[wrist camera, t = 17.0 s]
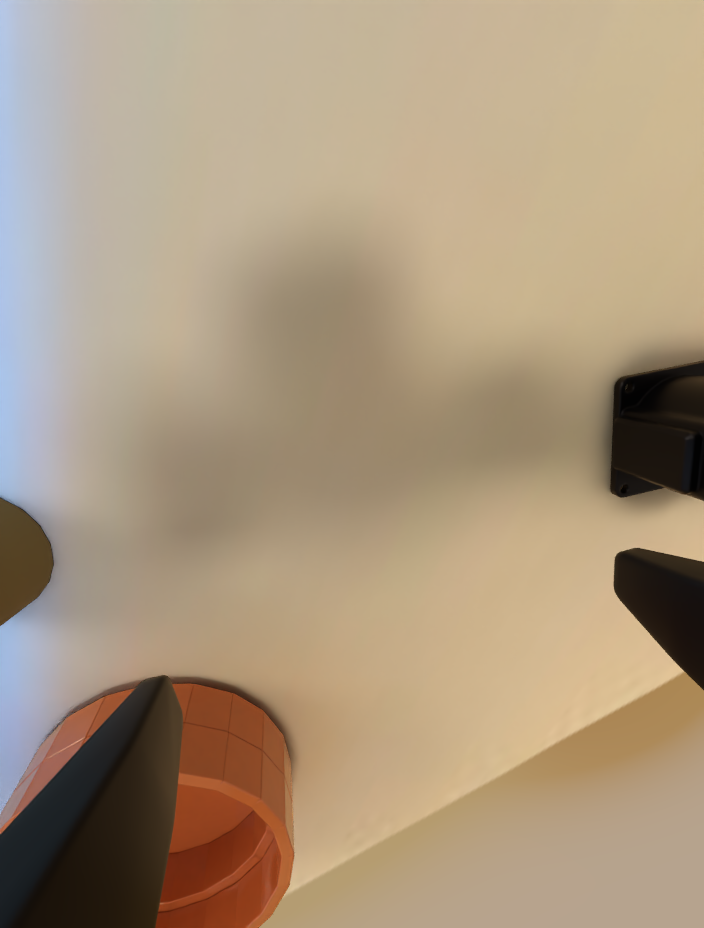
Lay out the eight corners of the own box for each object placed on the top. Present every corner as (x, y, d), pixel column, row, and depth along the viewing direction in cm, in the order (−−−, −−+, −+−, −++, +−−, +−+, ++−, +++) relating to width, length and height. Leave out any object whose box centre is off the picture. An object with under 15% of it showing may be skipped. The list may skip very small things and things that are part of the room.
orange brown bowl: (261, 649, 22) (257, 734, 17) (308, 818, 26) (316, 926, 21) (-11, 719, 20) (-100, 836, 15) (85, 888, 24) (39, 1022, 19)
